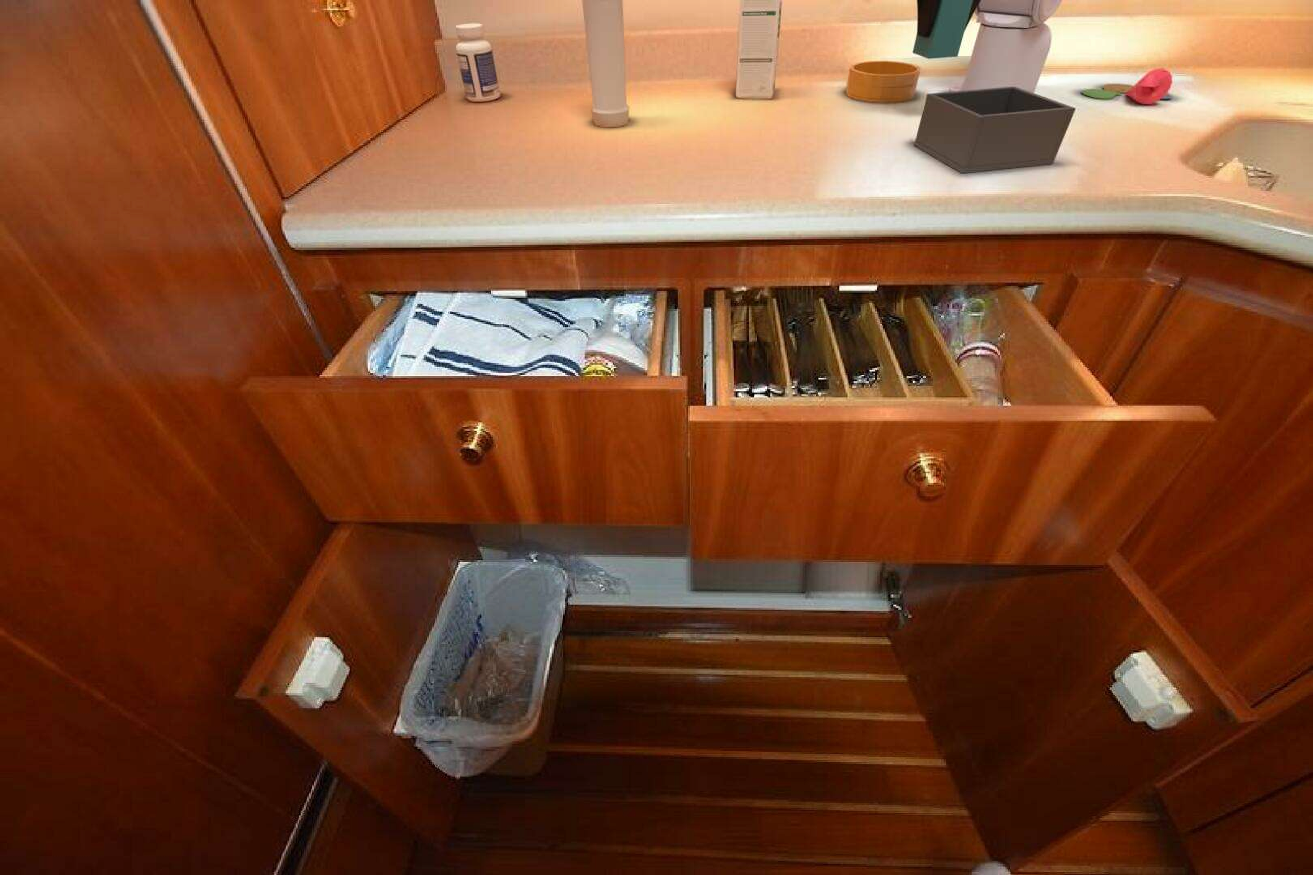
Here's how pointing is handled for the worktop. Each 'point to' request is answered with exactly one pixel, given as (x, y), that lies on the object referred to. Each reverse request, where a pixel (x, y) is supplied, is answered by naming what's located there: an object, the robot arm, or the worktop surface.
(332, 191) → the worktop surface
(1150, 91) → the toy pieces
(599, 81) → the bottle
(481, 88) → the pill bottle
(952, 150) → the bin
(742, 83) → the syrup box
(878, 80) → the bowl
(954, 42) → the toy block
